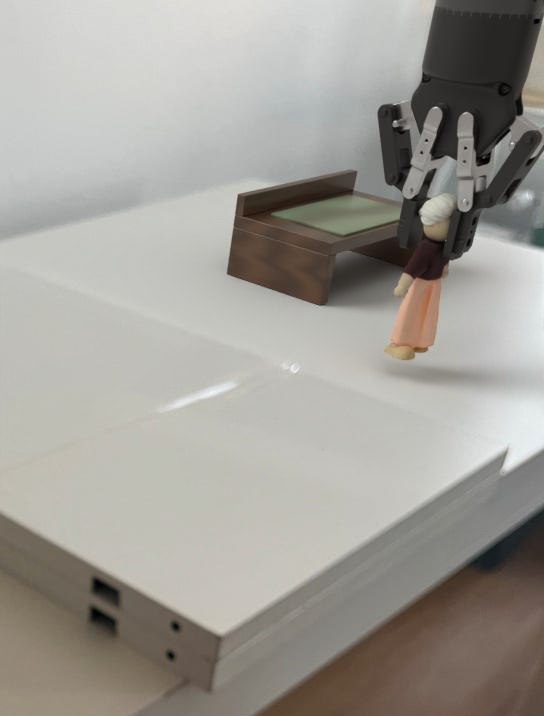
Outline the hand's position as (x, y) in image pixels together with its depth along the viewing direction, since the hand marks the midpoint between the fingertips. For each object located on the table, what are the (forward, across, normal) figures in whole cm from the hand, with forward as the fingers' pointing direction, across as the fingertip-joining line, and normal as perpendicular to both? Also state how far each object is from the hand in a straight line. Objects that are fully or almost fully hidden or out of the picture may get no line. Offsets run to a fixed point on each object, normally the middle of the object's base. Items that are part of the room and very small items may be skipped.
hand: (430, 251), depth 83 cm
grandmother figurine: (+8, 0, 0) cm, 8 cm away
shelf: (+10, -20, +18) cm, 29 cm away
